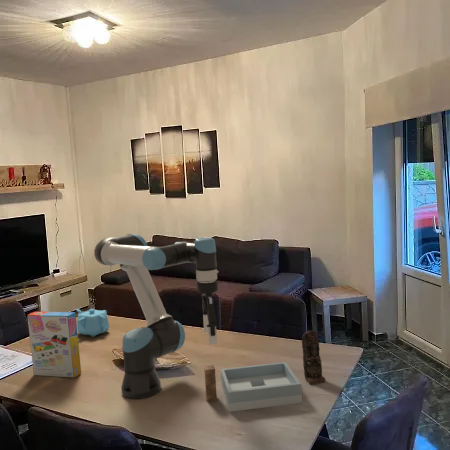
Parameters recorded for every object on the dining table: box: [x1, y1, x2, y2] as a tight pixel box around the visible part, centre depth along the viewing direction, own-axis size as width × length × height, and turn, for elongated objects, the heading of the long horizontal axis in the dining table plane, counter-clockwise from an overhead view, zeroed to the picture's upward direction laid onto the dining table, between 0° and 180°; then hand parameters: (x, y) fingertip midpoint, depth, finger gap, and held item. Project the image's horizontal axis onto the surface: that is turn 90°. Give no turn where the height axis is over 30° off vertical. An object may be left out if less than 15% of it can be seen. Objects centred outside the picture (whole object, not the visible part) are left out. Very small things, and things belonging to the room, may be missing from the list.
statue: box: [301, 330, 326, 385], centre depth 178 cm, size 7×7×20 cm
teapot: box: [75, 308, 110, 338], centre depth 250 cm, size 18×16×14 cm
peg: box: [203, 364, 218, 402], centre depth 168 cm, size 4×4×12 cm
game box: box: [26, 311, 82, 379], centre depth 197 cm, size 21×6×27 cm, turn 74°
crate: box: [220, 361, 303, 413], centre depth 169 cm, size 26×20×7 cm
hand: (210, 337), depth 168 cm, fingers open, 13 cm apart
